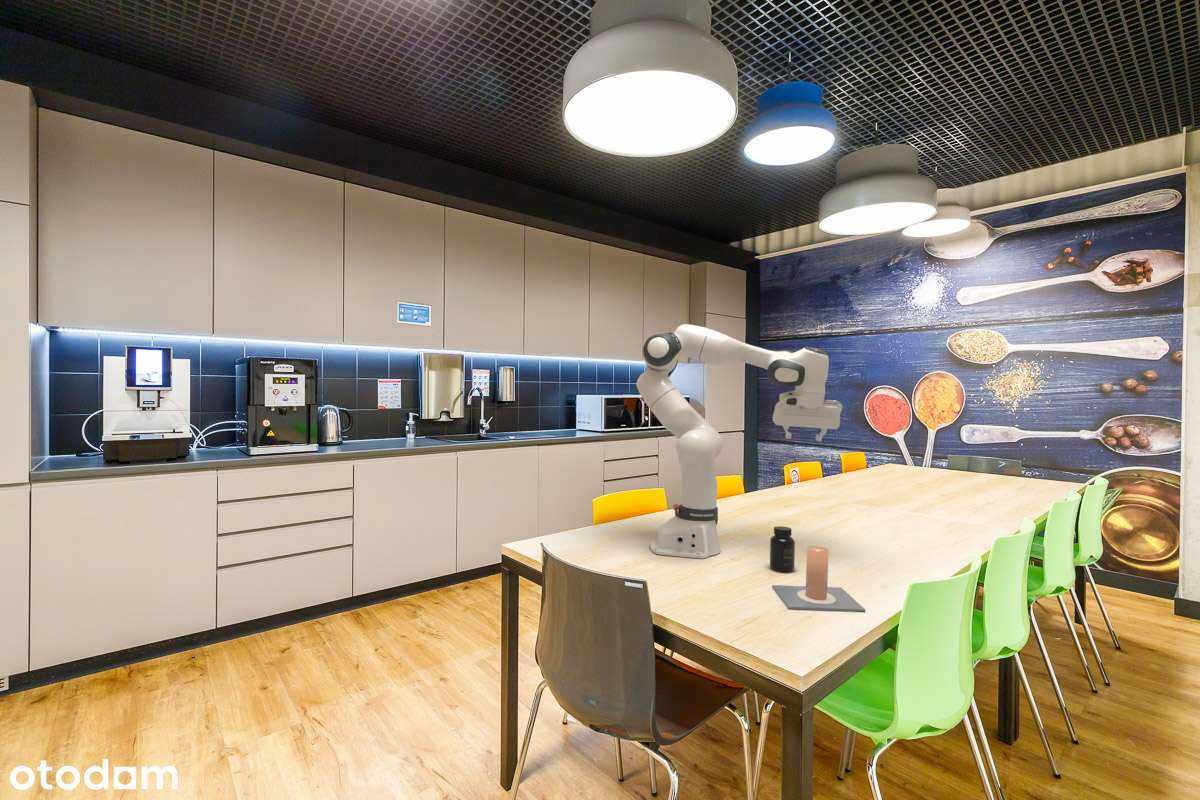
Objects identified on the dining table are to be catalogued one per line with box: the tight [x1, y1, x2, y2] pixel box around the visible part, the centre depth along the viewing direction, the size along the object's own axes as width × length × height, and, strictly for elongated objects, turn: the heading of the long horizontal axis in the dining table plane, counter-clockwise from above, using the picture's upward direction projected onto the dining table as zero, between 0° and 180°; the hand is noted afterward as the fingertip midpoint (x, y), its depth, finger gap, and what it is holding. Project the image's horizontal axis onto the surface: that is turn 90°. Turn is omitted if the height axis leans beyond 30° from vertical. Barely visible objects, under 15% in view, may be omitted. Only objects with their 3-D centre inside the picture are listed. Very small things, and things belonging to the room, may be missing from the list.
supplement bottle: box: [769, 525, 796, 573], centre depth 159 cm, size 7×7×12 cm
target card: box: [771, 584, 866, 612], centre depth 137 cm, size 18×14×1 cm
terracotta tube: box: [805, 545, 830, 600], centre depth 137 cm, size 5×5×12 cm
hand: (803, 439), depth 177 cm, fingers open, 8 cm apart
